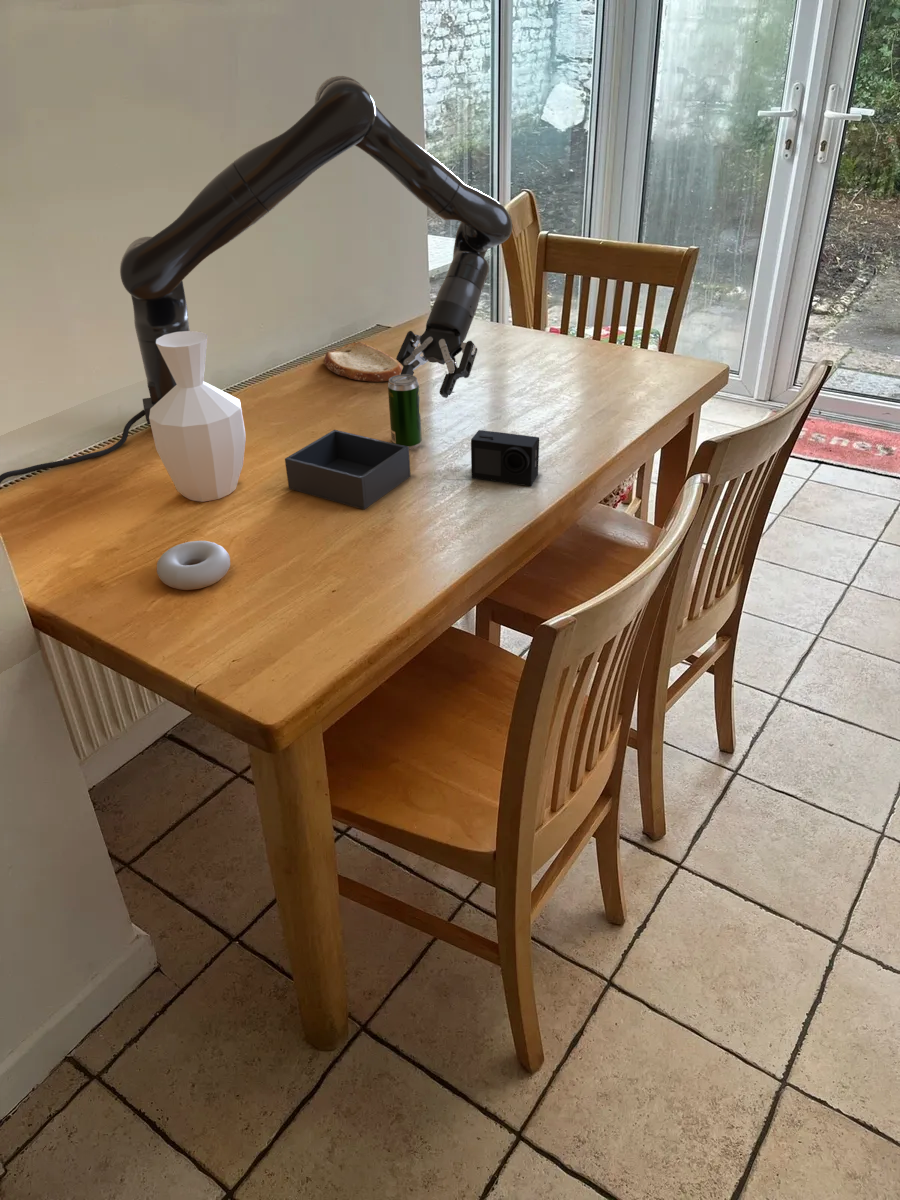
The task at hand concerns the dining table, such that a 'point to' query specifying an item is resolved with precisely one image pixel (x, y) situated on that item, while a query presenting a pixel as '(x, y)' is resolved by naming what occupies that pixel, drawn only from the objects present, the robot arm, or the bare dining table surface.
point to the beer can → (405, 410)
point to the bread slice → (362, 363)
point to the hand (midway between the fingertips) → (422, 391)
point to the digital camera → (504, 457)
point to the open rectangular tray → (348, 468)
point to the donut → (193, 565)
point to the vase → (197, 423)
